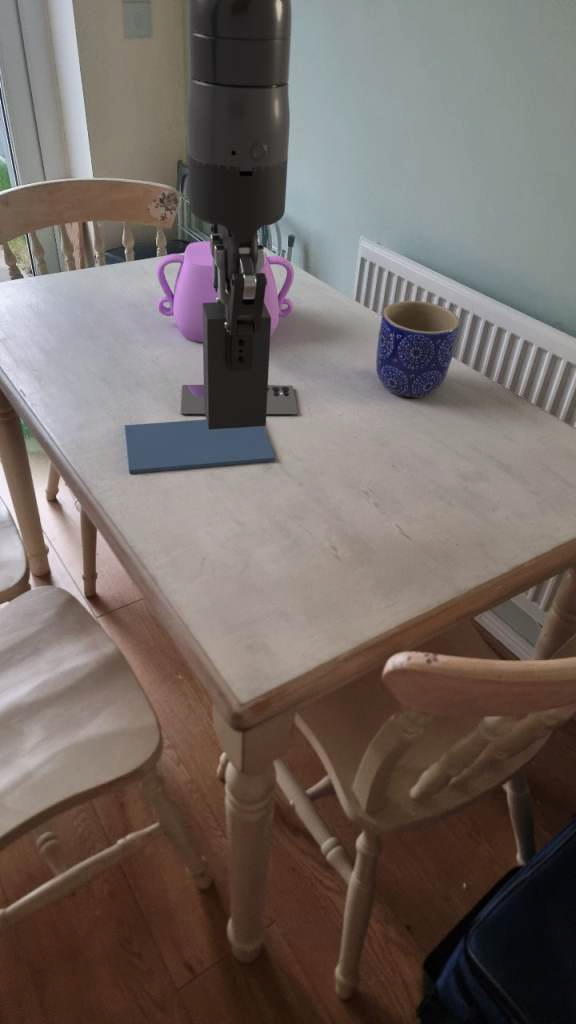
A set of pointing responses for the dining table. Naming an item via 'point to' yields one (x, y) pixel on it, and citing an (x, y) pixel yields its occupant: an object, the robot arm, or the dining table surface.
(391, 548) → the dining table surface
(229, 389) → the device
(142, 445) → the mat
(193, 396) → the smartphone
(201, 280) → the teapot
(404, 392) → the planter
